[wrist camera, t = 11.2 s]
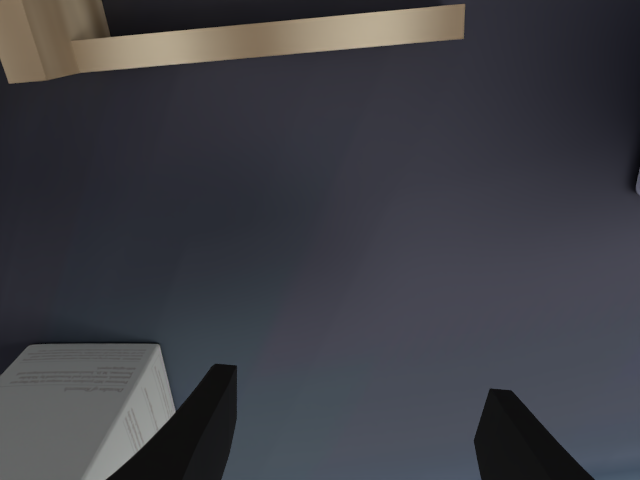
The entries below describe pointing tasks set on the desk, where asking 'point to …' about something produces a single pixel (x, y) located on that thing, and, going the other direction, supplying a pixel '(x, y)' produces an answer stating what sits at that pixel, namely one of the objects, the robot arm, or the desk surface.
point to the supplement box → (80, 409)
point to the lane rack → (192, 37)
